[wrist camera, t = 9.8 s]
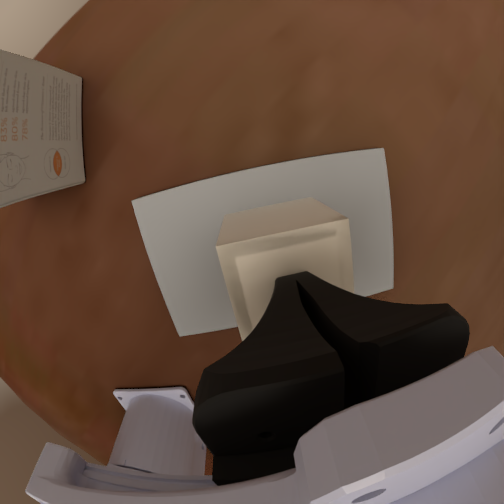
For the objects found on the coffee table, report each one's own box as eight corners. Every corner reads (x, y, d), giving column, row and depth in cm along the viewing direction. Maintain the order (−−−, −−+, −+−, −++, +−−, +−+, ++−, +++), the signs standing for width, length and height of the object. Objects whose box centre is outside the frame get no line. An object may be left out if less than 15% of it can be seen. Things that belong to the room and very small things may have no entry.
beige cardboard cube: (322, 275, 17) (354, 327, 12) (243, 292, 18) (245, 352, 12) (311, 196, 16) (348, 218, 10) (224, 214, 16) (215, 246, 10)
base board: (387, 282, 19) (393, 288, 18) (181, 328, 20) (179, 336, 19) (376, 148, 16) (383, 147, 15) (137, 198, 16) (131, 200, 15)
